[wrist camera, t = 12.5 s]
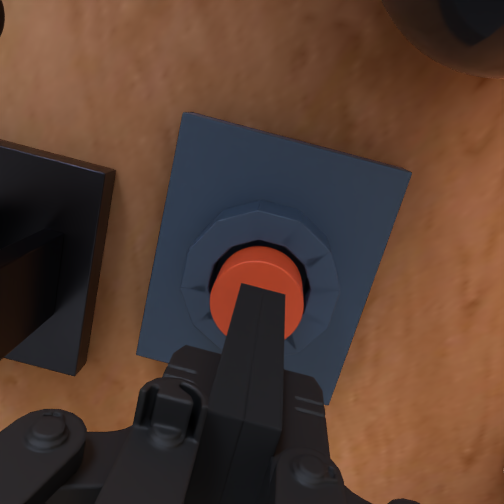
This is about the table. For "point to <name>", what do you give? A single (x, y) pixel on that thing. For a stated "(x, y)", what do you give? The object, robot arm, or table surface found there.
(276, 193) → the button block
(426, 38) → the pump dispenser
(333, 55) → the table surface
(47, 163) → the lever stand
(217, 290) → the button
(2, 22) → the tap lever
